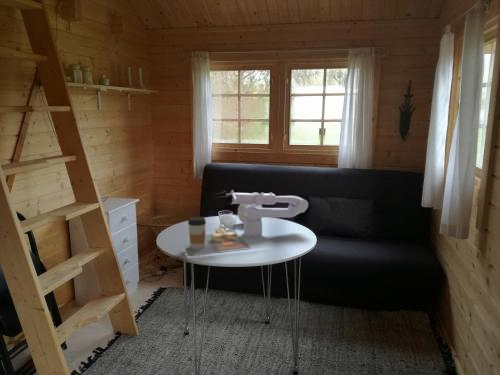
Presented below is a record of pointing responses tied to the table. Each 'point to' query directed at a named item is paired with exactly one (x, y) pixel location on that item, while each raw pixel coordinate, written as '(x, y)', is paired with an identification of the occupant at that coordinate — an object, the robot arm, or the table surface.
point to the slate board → (226, 244)
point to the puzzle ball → (240, 208)
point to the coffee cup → (197, 232)
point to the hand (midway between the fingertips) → (215, 197)
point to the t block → (223, 235)
